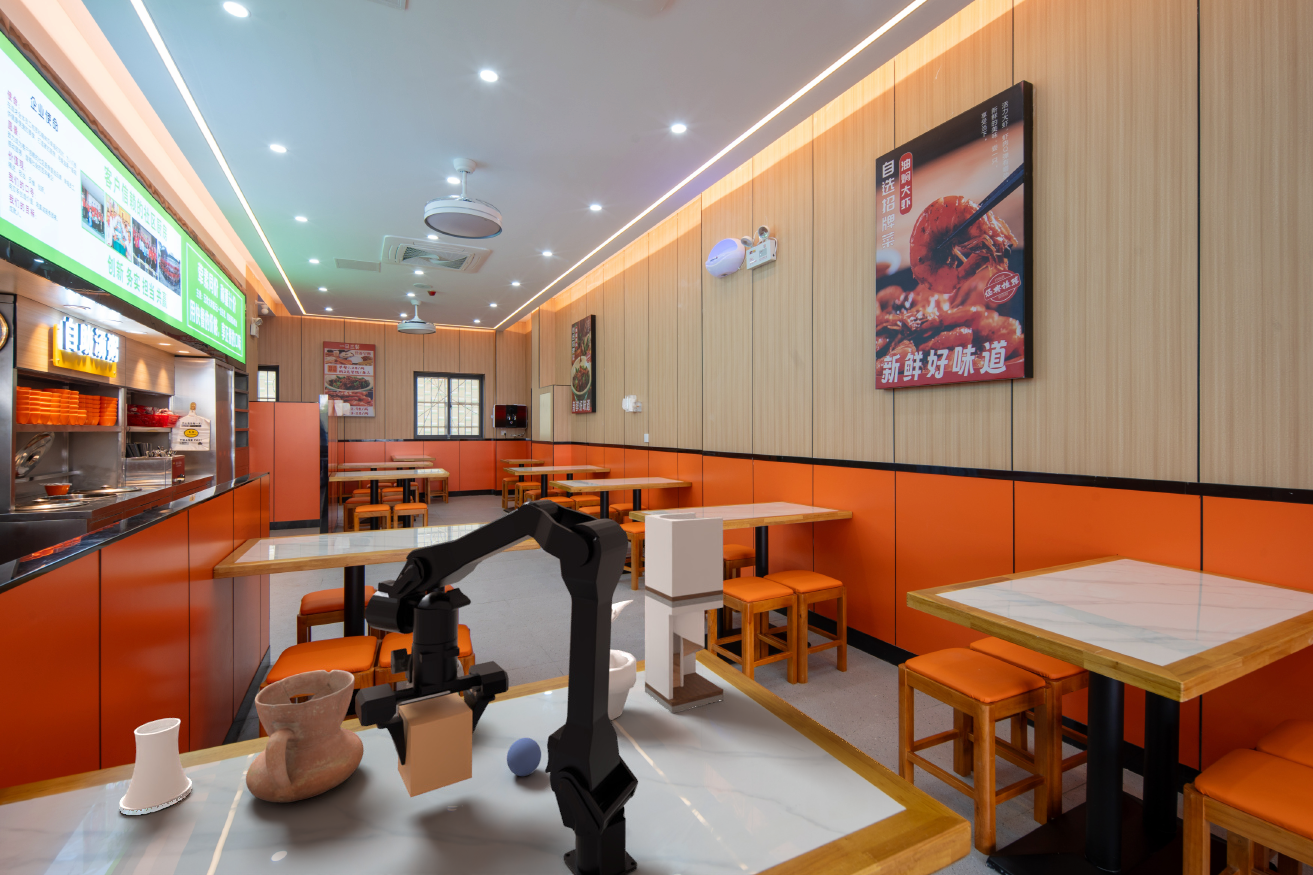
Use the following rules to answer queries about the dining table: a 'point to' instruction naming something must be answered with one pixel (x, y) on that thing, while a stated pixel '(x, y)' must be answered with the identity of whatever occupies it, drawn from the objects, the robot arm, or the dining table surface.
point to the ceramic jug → (304, 737)
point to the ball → (523, 756)
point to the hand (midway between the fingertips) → (434, 754)
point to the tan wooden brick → (436, 743)
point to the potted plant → (620, 672)
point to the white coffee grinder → (680, 605)
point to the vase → (156, 767)
